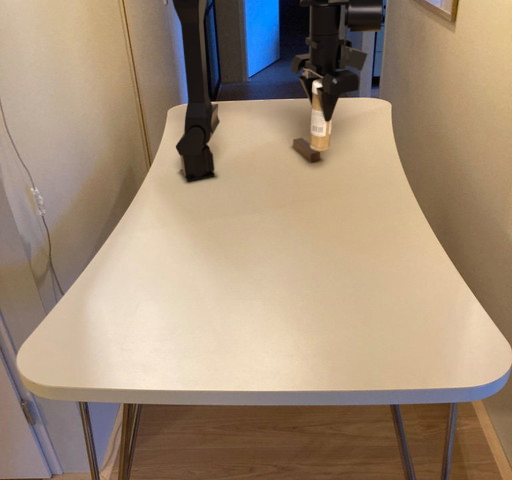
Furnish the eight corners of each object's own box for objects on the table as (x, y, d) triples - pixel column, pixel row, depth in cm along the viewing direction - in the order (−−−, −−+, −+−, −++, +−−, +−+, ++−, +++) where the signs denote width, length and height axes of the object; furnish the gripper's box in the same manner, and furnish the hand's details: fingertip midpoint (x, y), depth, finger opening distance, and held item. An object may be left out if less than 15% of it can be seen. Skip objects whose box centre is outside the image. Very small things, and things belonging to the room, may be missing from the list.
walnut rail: (310, 162, 128) (311, 153, 126) (293, 147, 135) (293, 139, 134) (320, 160, 128) (320, 151, 127) (301, 145, 135) (302, 137, 134)
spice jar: (334, 147, 117) (340, 81, 108) (320, 154, 115) (325, 87, 106) (318, 140, 120) (322, 75, 110) (304, 147, 117) (307, 81, 108)
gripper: (389, 36, 98) (380, 124, 108) (340, 17, 111) (336, 98, 122) (333, 45, 95) (329, 135, 105) (289, 25, 109) (290, 106, 119)
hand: (322, 117), depth 113 cm, fingers closed on spice jar, 4 cm apart
